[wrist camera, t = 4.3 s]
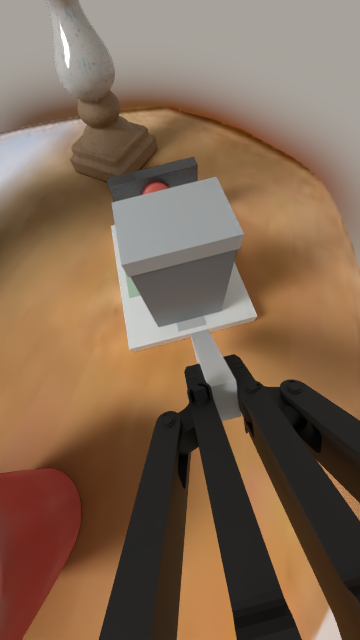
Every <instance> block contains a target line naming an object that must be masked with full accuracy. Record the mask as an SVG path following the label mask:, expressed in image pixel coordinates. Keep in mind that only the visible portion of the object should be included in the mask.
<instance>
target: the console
mask: <svg viewBox="0 0 360 640" xmlns="http://www.w3.org/2000/svg"><path fill="white" fill-rule="evenodd" d="M196 181H197V163H196V161H195V158H194V157H191V158H187V159H183V160H179V161H175V162H171V163H167V164H163V165H159V166H155V167H151V168H147V169H143V170H139V171H135V172H131V173H127V174H123V175H119V176H115V177H111V178H107V183H108V188H109V190H110V193H111V195H112V197H113V200H114V202H116V201H120V200H124V199H128V198H132V197H136V196H140V195H144V194H148V193H152V192H156V191H160V190H164V189H168V188H172V187H176V186H180V185H184V184H188V183H192V182H196ZM111 229H112V236H113V243H114V250H115V256H116V263H117V270H118V277H119V283H120V290H121V297H122V304H123V310H124V317H125V324H126V331H127V337H128V344H129V349H130V350H131V351H132V352H137V351H141V350H145V349H148V348H152V347H156V346H160V345H164V344H168V343H172V342H175V341H179V340H183V339H187V338H191V334H190V333H194V332H198V331H202V330H206V329H208V331H209V332H214V331H218V330H222V329H226V328H230V327H233V326H237V325H241V324H245V323H249V322H253V321H254V320H255V319H256V317H257V314H256V312H255V309H254V307H253V305H252V302H251V300H250V298H249V295H248V293H247V290H246V288H245V286H244V283H243V281H242V279H241V276H240V274H239V272H238V269H237V267H236V265H235V262H234V265H233V268H232V272H231V276H230V280H229V284H228V288H227V291H226V295H225V299H224V303H223V307H222V310H221V311H220V312H216V313H212V314H208V315H204V316H201V317H197V318H193V319H189V320H185V321H181V322H177V323H173V324H170V325H166V326H162V327H158V326H157V324H156V322H155V320H154V319H153V317H152V315H151V313H150V311H149V310H148V308H147V306H146V304H145V302H144V301H143V299H142V297H141V295H140V293H139V292H138V290H137V288H136V286H135V284H134V283H133V281H132V279H131V277H128V276H127V274H126V272H125V271H124V269H123V267H122V266H121V260H120V254H119V248H118V241H117V235H116V229H115V225H112V226H111Z"/></svg>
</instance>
